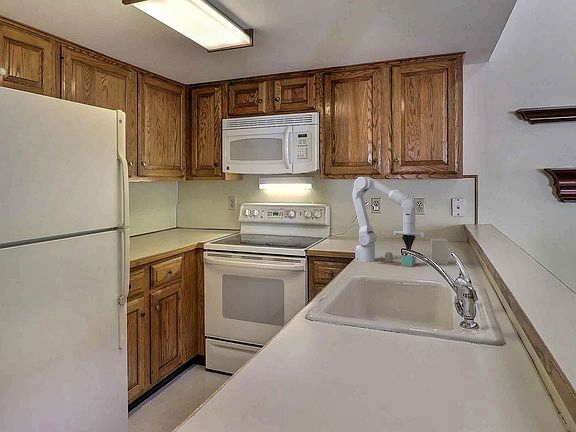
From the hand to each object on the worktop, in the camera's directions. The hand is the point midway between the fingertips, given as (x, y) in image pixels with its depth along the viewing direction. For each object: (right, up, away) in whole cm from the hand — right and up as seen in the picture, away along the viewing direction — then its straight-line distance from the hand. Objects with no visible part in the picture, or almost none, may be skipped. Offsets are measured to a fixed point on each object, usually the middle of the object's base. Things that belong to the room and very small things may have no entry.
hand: (408, 250), depth 191 cm
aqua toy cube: (0, -7, 0) cm, 7 cm away
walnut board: (-4, -8, +4) cm, 9 cm away
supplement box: (+17, -8, +5) cm, 19 cm away
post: (-8, -7, +6) cm, 12 cm away
